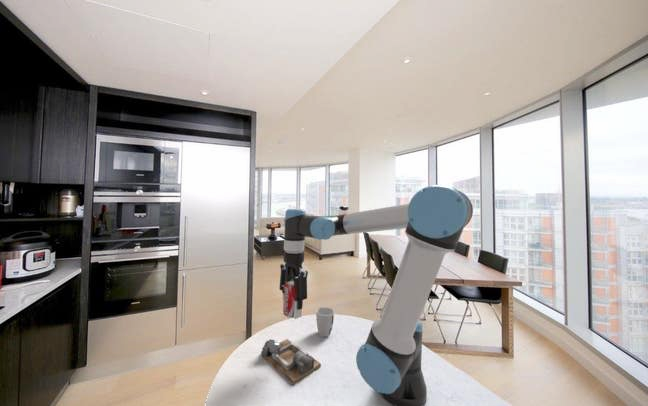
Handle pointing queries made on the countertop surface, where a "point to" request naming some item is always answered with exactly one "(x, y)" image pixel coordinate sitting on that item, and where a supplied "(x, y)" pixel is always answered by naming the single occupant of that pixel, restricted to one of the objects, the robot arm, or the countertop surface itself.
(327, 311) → the cup
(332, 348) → the countertop surface
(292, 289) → the beverage can
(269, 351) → the shaft
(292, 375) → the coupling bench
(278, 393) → the countertop surface
